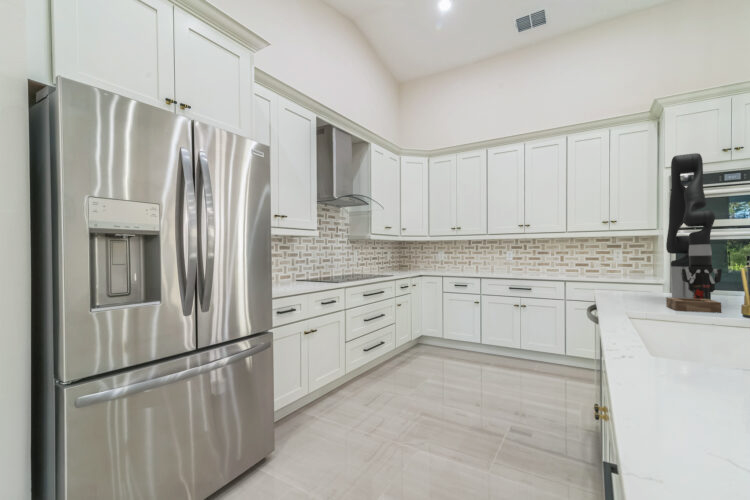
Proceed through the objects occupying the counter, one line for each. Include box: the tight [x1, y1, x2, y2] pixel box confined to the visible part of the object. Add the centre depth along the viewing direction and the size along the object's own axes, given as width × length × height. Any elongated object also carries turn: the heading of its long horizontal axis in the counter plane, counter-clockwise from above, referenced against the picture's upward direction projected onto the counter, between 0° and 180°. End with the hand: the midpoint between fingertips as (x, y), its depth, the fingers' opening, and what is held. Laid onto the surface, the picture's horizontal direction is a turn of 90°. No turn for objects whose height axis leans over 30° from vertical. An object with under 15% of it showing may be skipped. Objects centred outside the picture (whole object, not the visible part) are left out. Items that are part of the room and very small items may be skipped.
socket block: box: [665, 297, 722, 314], centre depth 148 cm, size 14×14×4 cm
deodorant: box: [692, 273, 712, 300], centre depth 156 cm, size 6×6×15 cm
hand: (701, 291), depth 156 cm, fingers closed on deodorant, 6 cm apart
